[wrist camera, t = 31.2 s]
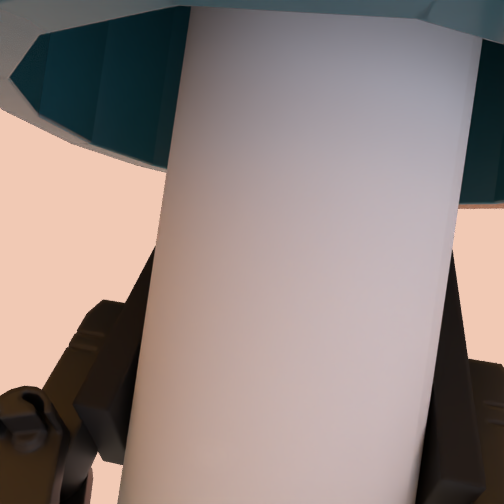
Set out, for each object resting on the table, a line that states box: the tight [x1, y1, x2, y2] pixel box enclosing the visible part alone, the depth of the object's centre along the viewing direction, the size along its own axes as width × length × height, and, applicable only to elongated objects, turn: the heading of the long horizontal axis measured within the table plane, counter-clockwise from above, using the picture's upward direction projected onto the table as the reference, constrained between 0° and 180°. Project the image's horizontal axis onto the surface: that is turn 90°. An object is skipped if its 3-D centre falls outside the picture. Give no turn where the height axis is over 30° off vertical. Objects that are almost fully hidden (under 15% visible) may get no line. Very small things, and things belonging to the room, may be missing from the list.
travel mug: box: [117, 6, 482, 504], centre depth 11 cm, size 6×7×20 cm
